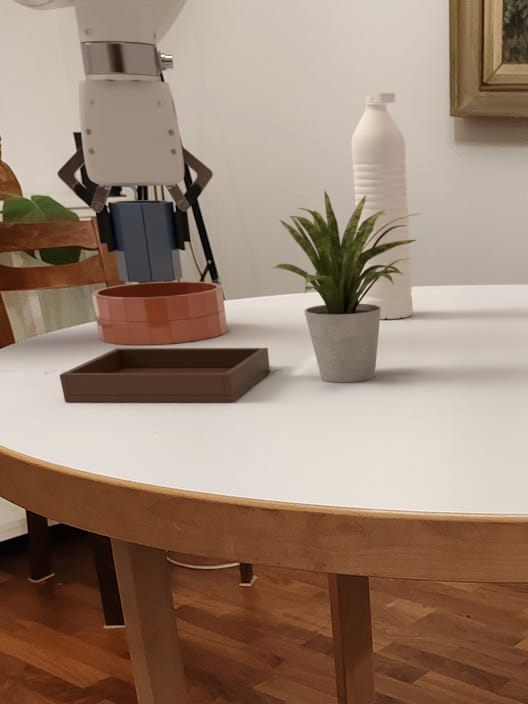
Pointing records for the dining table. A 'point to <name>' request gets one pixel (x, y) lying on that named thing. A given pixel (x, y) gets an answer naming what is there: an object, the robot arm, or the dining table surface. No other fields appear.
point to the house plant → (342, 292)
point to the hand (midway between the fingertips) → (147, 248)
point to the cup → (145, 240)
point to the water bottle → (383, 203)
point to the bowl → (160, 312)
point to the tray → (166, 375)
